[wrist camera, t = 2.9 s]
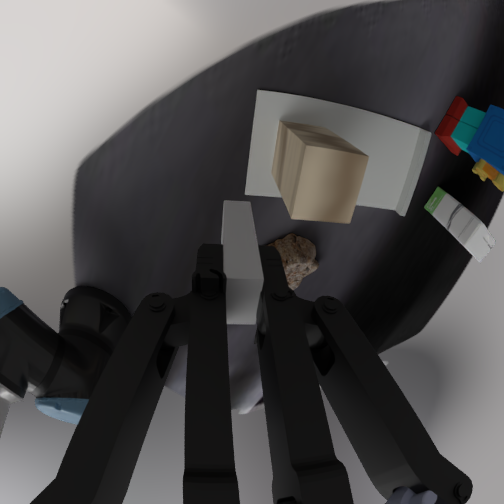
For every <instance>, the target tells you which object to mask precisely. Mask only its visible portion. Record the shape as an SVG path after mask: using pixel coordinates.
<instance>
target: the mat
mask: <svg viewBox="0 0 504 504" xmlns="http://www.w3.org/2000/svg"><path fill="white" fill-rule="evenodd" d="M279 120H282V121H290V122H296V123H303V124H309V125H315V126H321V127H325V128H327V129H329V130H330V131H332V132H333V133H335V134H336V135H338V136H340V137H341V138H343V139H344V140H346V141H347V142H349V143H350V144H352V145H353V146H355V147H356V148H358V149H359V150H361V151H362V152H363V153H365V154H366V155H368V156H369V159H368V163H367V167H366V170H365V174H364V178H363V181H362V185H361V188H360V192H359V195H358V198H357V202H356V205H361V206H369V207H376V208H384V209H391V210H395V211H396V212H397V213H398V214H399V215H401V216H405V214H406V212H407V209H408V206H409V204H410V201H411V198H412V195H413V193H414V190H415V187H416V184H417V181H418V178H419V175H420V172H421V169H422V165H423V162H424V159H425V155H426V152H427V149H428V145H429V141H430V138H431V134H432V133H430V132H428V131H426V130H424V129H421V128H419V127H416V126H413V125H410V124H407V123H405V122H402V121H399V120H396V119H393V118H389V117H386V116H383V115H380V114H376V113H373V112H369V111H366V110H362V109H358V108H355V107H351V106H347V105H343V104H338V103H334V102H329V101H325V100H320V99H315V98H310V97H304V96H298V95H292V94H286V93H279V92H272V91H264V90H257V97H256V105H255V113H254V121H253V129H252V137H251V145H250V154H249V162H248V170H247V179H246V188H245V195H256V196H270V197H282V196H281V194H280V191H279V189H278V187H277V185H276V182H275V180H274V178H273V176H272V173H271V168H272V162H273V155H274V149H275V142H276V136H277V129H278V122H279Z"/></svg>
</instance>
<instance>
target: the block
mask: <svg viewBox="0 0 504 504" xmlns="http://www.w3.org/2000/svg"><path fill="white" fill-rule="evenodd" d="M368 159H369V156H368V155H366V154H365V153H363V152H362V151H361V150H359V149H358V148H356V147H355V146H353V145H352V144H350V143H349V142H347V141H346V140H344V139H343V138H341V137H340V136H338V135H336V134H335V133H333V132H332V131H330V130H329V129H327V128H325V127H321V126H315V125H309V124H303V123H296V122H290V121H282V120H279V122H278V129H277V136H276V142H275V149H274V155H273V162H272V168H271V173H272V176H273V178H274V180H275V182H276V185H277V187H278V189H279V191H280V194H281V196H282V198H283V200H284V203H285V205H286V207H287V210H288V212H289V214H290V217H291V219H298V220H311V221H324V222H337V223H348V224H350V221H351V218H352V215H353V211H354V208H355V205H356V202H357V198H358V195H359V192H360V188H361V185H362V181H363V178H364V174H365V170H366V167H367V163H368Z"/></svg>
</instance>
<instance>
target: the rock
mask: <svg viewBox="0 0 504 504" xmlns="http://www.w3.org/2000/svg"><path fill="white" fill-rule="evenodd" d="M267 246H274V247H275V248H276V249H277V250H278V251H279V252H280V256H281V261H282V263H283V267H284V271H285V275H286V278H287V282H288V286H289V287H290V288H291V289H292V290H294V289H295V288H297V287H298V286H299V285H300V283H301V281H302V279H303V277H305V276H306V275H308V274H310V273H312V272H314V271H315V270H316V269H317V268H318V266H319V264H318V262H317V261H316V260H315V256H316V249H315V245H314V244H313V243H311V242H310V241H309V240H308V239H306V238H303V237H301V236H298V237H297V236H296V235H295V234H293V233H291V234H288V235H287V236H286V237H284V238H283V239H277V240H276V241H275V242H274V243H271V244H268V245H267Z"/></svg>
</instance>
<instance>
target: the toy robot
mask: <svg viewBox="0 0 504 504" xmlns="http://www.w3.org/2000/svg"><path fill="white" fill-rule="evenodd" d="M435 134H436V135H437V136H438V137H439V139H440V140H441V141H442V142H443V143H444V144H445V145H446V147H447V148H448V149H449V150H450V151H451V152H452V153H454V154H455V155H457V156H458V154H459V153H460V151H461V149H462V150H464V151H466V152H468V153H469V154H470V155H471V156H472V158H473V159H474V161H475V162H476V164H475V166H474V167H473V169H472V171H473V172H474V173H475V174H478V175H479V176H480V178H481V180H483V181H485V179H486V178H487V177H488V178H490V179H491V180H492V182H493V183H494V185H495V186H496V187H497V188H498V189H500V190H501V191H504V109H501V108H499V107H496V106H494V105H490V106H489V108H488V110H487V112H486V113H485V112H482V111H480V110H477V109H475V108H472V107H469V106H468V104H467V103H466V101H465V100H464V99H463V98H461V97H458V96H456V97H455V99H454V101H453V102H452V104H451V106H450V108H449V110H448V111H447V113H446V115H445V116H444V118H443V120H442V121H441V123H440V125H439V126H438V128H437V130H436V131H435Z"/></svg>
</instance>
